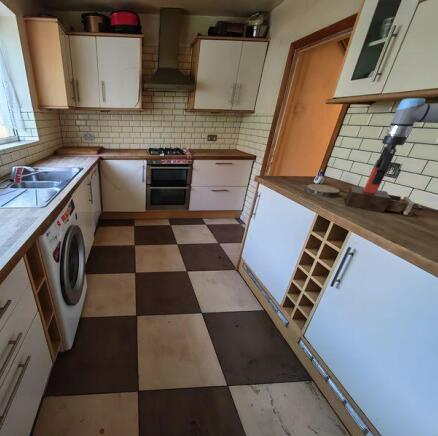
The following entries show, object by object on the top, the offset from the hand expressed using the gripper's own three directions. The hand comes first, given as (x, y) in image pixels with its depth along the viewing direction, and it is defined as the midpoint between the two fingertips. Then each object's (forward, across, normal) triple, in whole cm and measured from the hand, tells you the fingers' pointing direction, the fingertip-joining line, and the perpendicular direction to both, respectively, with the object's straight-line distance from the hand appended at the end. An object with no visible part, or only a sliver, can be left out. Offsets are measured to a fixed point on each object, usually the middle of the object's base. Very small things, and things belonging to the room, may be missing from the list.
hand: (374, 182), depth 116 cm
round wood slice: (+13, -10, -19) cm, 25 cm away
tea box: (+5, 0, 0) cm, 5 cm away
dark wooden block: (+13, 0, 0) cm, 13 cm away
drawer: (+12, 0, +11) cm, 16 cm away
